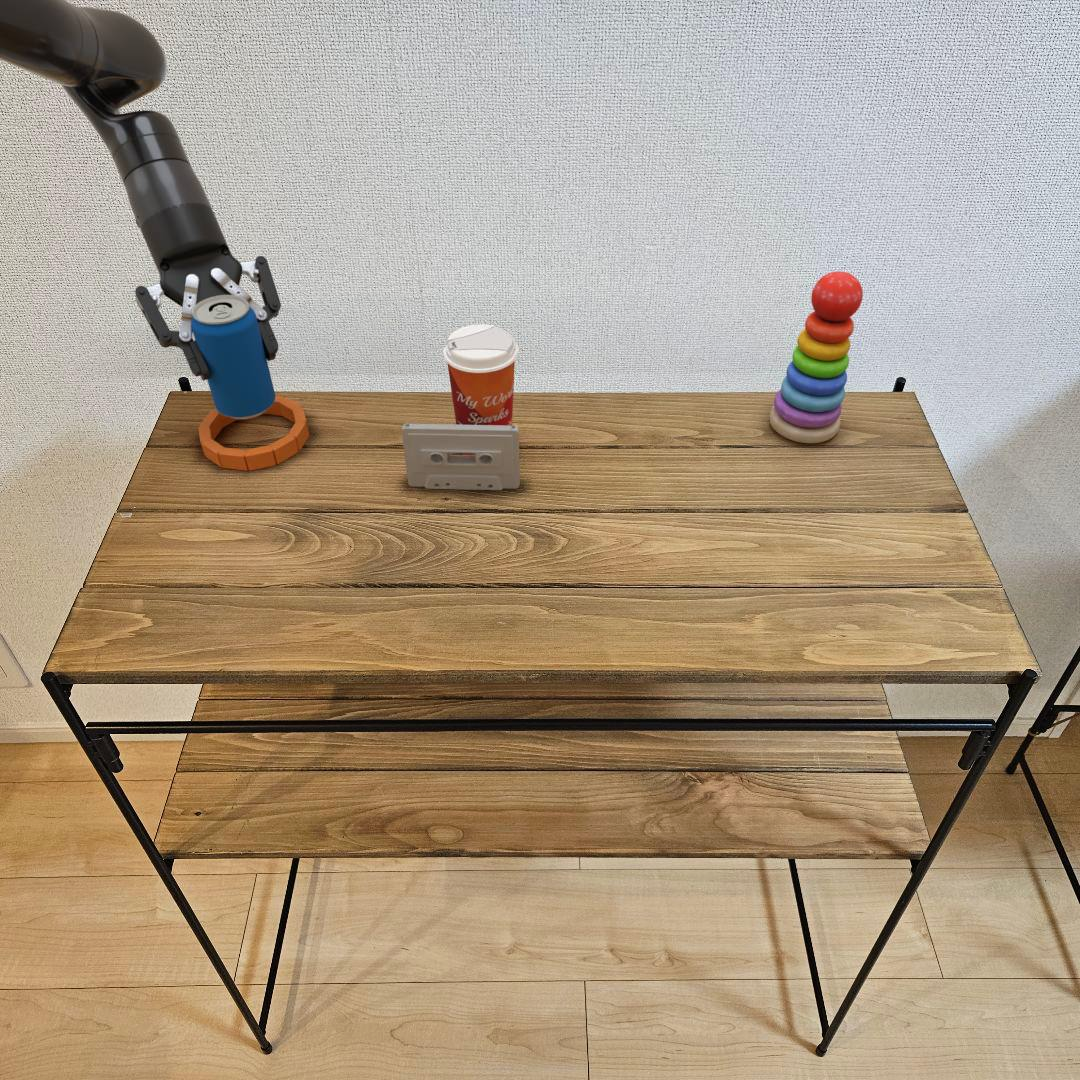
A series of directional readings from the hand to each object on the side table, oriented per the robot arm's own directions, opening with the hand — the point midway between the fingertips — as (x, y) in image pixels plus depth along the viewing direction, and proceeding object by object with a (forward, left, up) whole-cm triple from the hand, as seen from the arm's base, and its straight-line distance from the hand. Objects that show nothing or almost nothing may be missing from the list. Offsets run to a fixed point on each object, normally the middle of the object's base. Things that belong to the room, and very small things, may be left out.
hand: (240, 367), depth 93 cm
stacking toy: (+60, -18, -10) cm, 63 cm away
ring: (0, +1, -10) cm, 10 cm away
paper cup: (+24, -10, -10) cm, 28 cm away
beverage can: (0, +2, -6) cm, 6 cm away
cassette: (+20, -15, -10) cm, 27 cm away
